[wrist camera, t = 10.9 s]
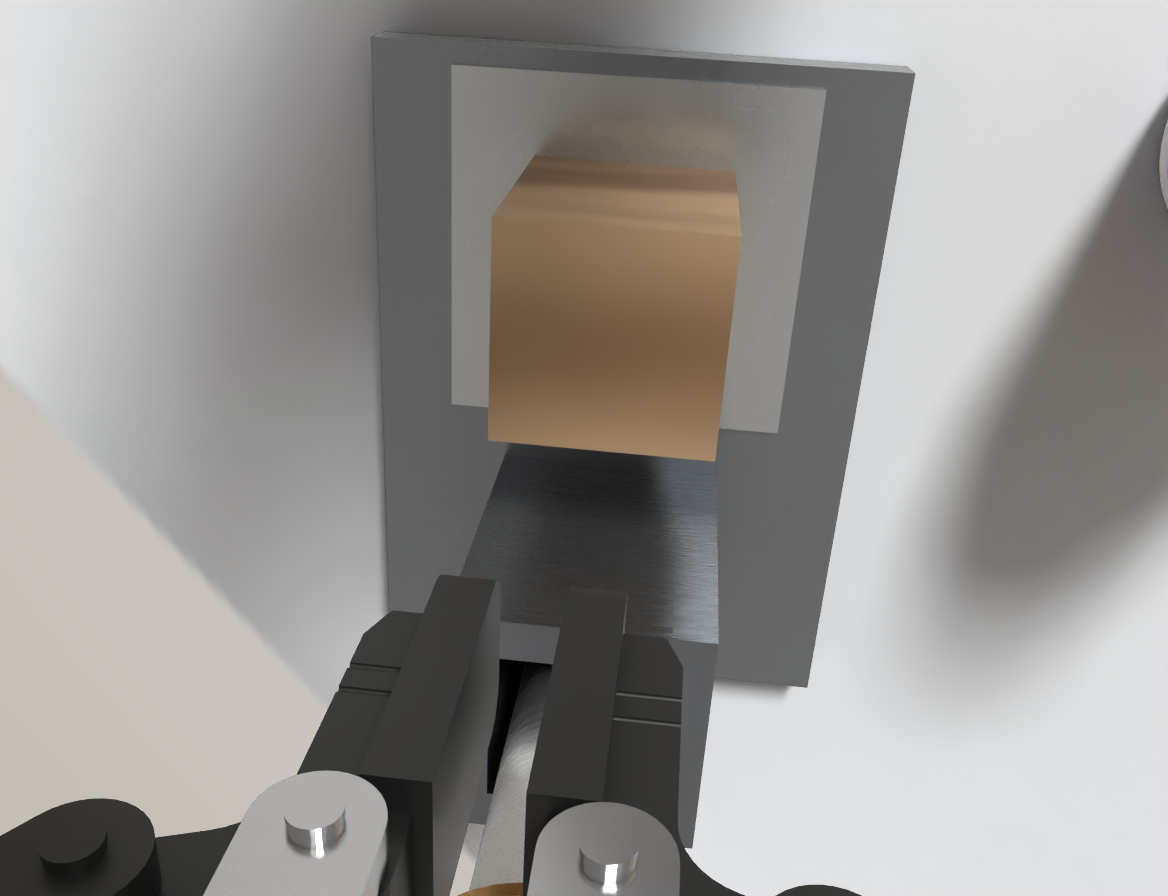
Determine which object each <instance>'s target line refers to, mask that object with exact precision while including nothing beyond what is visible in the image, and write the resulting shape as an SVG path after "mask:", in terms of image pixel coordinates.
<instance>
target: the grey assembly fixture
mask: <svg viewBox="0 0 1168 896" xmlns="http://www.w3.org/2000/svg"><path fill="white" fill-rule="evenodd" d="M371 40H372V73H373V105H374V138H375V170H376V203H377V235H378V267H379V300H380V332H381V365H382V397H383V430H384V462H385V494H386V527H387V559H388V592H389V613H390V612H391V611H392V610H395V611H405V612H414V613H423V612H424V610H425V608H426V605H427V603H428V600H429V598H430V595H431V593H432V590H433V588H434V585H435V583H436V580H437V578H438V577H439V575H441V574H443V575H453V576H463V577H472V578H482V579H492V580H499V582H500V588H501V609H500V653H499V687H498V699H497V708H496V715H495V721H494V726H493V731H492V735H491V739H490V743H489V747H488V750H487V754H486V758H485V762H484V766H483V769H482V773H481V777H480V781H479V785H478V788H477V792H476V796H475V800H474V804H473V807H472V811H471V815H470V819H469V823H476V824H486V820H487V816H488V812H489V808H490V804H491V800H492V796H493V792H494V788H495V783H496V779H497V775H498V771H499V767H500V763H501V759H502V755H503V751H504V747H505V742H506V738H507V734H508V730H509V726H510V722H511V718H512V714H513V710H514V706H515V702H516V697H517V693H518V689H519V685H520V681H521V677H522V673H523V669H524V665H525V661H527V662H536V663H546V664H553V661H554V657H555V652H556V647H557V642H558V637H559V632H560V628H561V623H562V618H563V613H564V608H565V603H566V599H567V594H568V590H569V587H572V588H582V589H592V590H602V591H612V592H622V593H628V594H627V609H626V621H625V633H624V634H628V635H638V636H648V637H657V638H667V640H668V642H669V643H670V645H671V647H672V648H673V650H674V652H675V654H676V655H677V657H678V659H679V661H680V662H681V664H682V666H683V686H682V714H681V743H680V771H679V800H678V831H679V835H680V839H681V842H682V844H683V846H684V848H692V846H693V838H694V830H695V822H696V815H697V807H698V799H699V791H700V784H701V776H702V768H703V760H704V753H705V745H706V737H707V729H708V722H709V714H710V706H711V698H712V691H713V683H714V678H721V679H730V680H740V681H749V682H759V683H768V684H778V685H787V686H797V687H806V688H807V686H808V680H809V674H810V669H811V663H812V657H813V652H814V646H815V640H816V635H817V629H818V623H819V617H820V612H821V606H822V600H823V595H824V589H825V583H826V578H827V572H828V566H829V561H830V555H831V549H832V544H833V538H834V532H835V526H836V521H837V515H838V509H839V504H840V498H841V492H842V487H843V481H844V475H845V470H846V464H847V458H848V453H849V447H850V441H851V436H852V430H853V424H854V418H855V413H856V407H857V401H858V396H859V390H860V384H861V379H862V373H863V367H864V362H865V356H866V350H867V345H868V339H869V333H870V328H871V322H872V316H873V310H874V305H875V299H876V293H877V288H878V282H879V276H880V271H881V265H882V259H883V254H884V248H885V242H886V237H887V231H888V225H889V219H890V214H891V208H892V202H893V197H894V191H895V185H896V180H897V174H898V168H899V163H900V157H901V151H902V146H903V140H904V134H905V129H906V123H907V117H908V111H909V106H910V100H911V94H912V89H913V83H914V77H915V73H914V72H913V71H912V70H911V69H909V68H908V67H905V66H891V65H876V64H861V63H846V62H831V61H816V60H801V59H786V58H771V57H756V56H741V55H726V54H712V53H697V52H682V51H667V50H652V49H637V48H622V47H607V46H592V45H577V44H562V43H547V42H533V41H518V40H503V39H488V38H473V37H458V36H443V35H428V34H413V33H398V32H382V33H379V34H377V35H374V36H372V37H371ZM534 156H538V157H551V158H564V159H577V160H591V161H604V162H617V163H630V164H643V165H657V166H670V167H683V168H696V169H709V170H723V171H736V182H737V192H738V202H739V213H740V223H741V234H742V239H741V247H740V256H739V264H738V272H737V281H736V289H735V298H734V306H733V315H732V323H731V331H730V340H729V348H728V357H727V365H726V374H725V382H724V390H723V399H722V407H721V416H720V424H719V433H718V441H717V449H716V458H715V462H713V461H702V460H692V459H681V458H670V457H659V456H649V455H638V454H627V453H617V452H606V451H595V450H584V449H574V448H563V447H552V446H542V445H531V444H520V443H509V442H499V441H488V403H489V344H490V285H491V226H492V215H493V214H494V212H495V211H496V210H497V208H498V207H499V205H500V204H501V203H502V201H503V200H504V198H505V197H506V195H507V194H508V193H509V191H510V190H511V188H512V187H513V185H514V184H515V183H516V181H517V180H518V178H519V177H520V175H521V174H522V173H523V171H524V170H525V168H526V167H527V165H528V164H529V163H530V161H531V160H532V158H533V157H534Z"/></svg>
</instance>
